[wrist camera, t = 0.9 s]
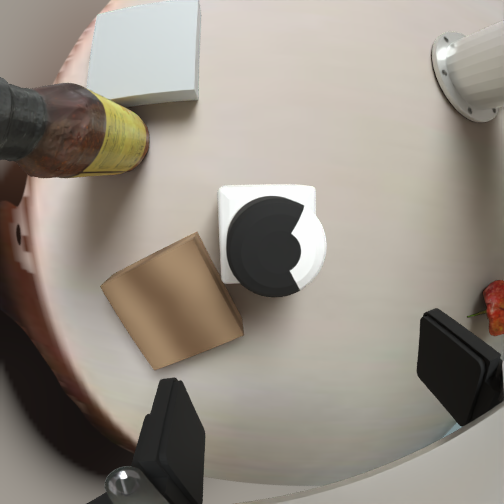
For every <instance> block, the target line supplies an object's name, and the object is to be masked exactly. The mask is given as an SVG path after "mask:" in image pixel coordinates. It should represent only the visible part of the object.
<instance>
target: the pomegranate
mask: <svg viewBox="0 0 504 504" xmlns="http://www.w3.org/2000/svg"><path fill="white" fill-rule="evenodd" d="M483 296H484V300H485V303H486V310H484V311H481V312H478V313H477V314H473V315H470V316H467V318H468V317H471V316H476V315H479V314H485V313H487V318H488V319H489V333H490V334H491V335H492V336H497V335H501V334H504V281H503V280H497V281H494V282H492V283H490V284H489V285H488V286H487V287H486V289H485V290H484V291H483Z"/></svg>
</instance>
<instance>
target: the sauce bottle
mask: <svg viewBox="0 0 504 504" xmlns="http://www.w3.org/2000/svg"><path fill="white" fill-rule="evenodd" d="M148 148H149V132H148V128H147V126H146V124H145V123H144V122H143V121H142V120H141V119H140V117H139V116H138V115H137V114H135V113H134V112H132V111H131V110H128V109H126V108H125V107H123V106H121V105H119V104H117V103H115V102H113V101H112V100H110V99H107V98H105V97H103V96H101V95H99V94H97V93H95V92H93V91H91V90H89V89H87V88H84V87H82V86H80V85H77V84H73V83H61V84H54V85H48V86H42V87H38V88H32V89H28V88H20V87H18V86H15V85H12V84H8V82H7V81H6V80H5V79H3V78H1V77H0V160H2V159H3V160H8V161H15V162H16V163H18V165H19V166H20V167H21V168H22V170H23V171H24V172H25V173H26V174H28V175H29V176H31V177H32V176H34V177H38V178H54V177H59V178H74V177H86V176H102V175H117V174H122V173H124V172H128V171H131V170H132V169H134V168H135V167H136V166H138V165H139V164H140V163H141V161H142V159H143V158H144V156H145V155H146V153H147V151H148Z"/></svg>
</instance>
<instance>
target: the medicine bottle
mask: <svg viewBox="0 0 504 504" xmlns="http://www.w3.org/2000/svg"><path fill="white" fill-rule="evenodd" d="M217 197H218V223H219V246H220V266H221V280H222V282H223V283H225V284H233V283H241V284H242V285H243V286H244V287H245V288H247V289H248V290H250V291H252V292H253V293H256V294H259V295H262V296H266V297H283V296H288V295H291V294H294V293H296V292H298V291H300V290H302V289H303V288H305V287H306V286H307V285H308V284H310V283H311V282H312V281H313V280H314V278H315V277H316V276H317V274H318V273H319V271H320V269H321V268H322V266H323V263H324V260H325V255H326V237H325V232H324V230H323V227H322V225H321V223H320V221H319V220H318V218H317V217H316V190H315V188H314V187H312V186H306V185H297V184H258V185H225V186H222V187H221V188H220V189H219V190H218V192H217Z"/></svg>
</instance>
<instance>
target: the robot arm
mask: <svg viewBox="0 0 504 504" xmlns="http://www.w3.org/2000/svg"><path fill="white" fill-rule="evenodd" d="M432 61H433V67H434V71H435V74H436V77H437V80H438V82H439V84H440V86H441V88H442V90H443V92H444V94H445V95H446V97H447V98H448V100H449V101H450V103H451V104H452V105H453V106H454V107H455V108H456V110H457V111H458V112H460V113H461V114H462V115H463V116H464V117H466V118H468V119H469V120H472V121H474V122H488V121H490V120H492V119H493V118H494V117H495V116H496V114H497V113H498V111H499V107H504V20H503V21H500V22H498V23H495V24H493V25H491V26H488V27H486V28H484V29H481V30H479V31H477V32H475V33H472V34H470V35H468V36H465V35H463V34H462V33H458V32H454V31H449V32H445V33H443V34H442V35H440V36H439V37H438V38H437V39H436V40H435V42H434V44H433V48H432ZM500 356H501V354H500V353H498V352H497V351H496V350H494V349H493V348H492V347H490V346H489V345H488V344H486V343H485V342H484V341H482V340H481V339H480V338H478V337H477V336H476V335H474V334H473V333H472V332H470V331H469V330H467V329H466V328H465V327H463V326H462V325H461V324H459V323H458V322H456V321H455V320H454V319H452V318H451V317H449V316H448V315H447V314H445V313H444V312H442V311H441V310H439V309H437V308H435V309H433V310H430V311H428V312H425V313H424V315H423V317H422V318H421V320H420V337H419V351H418V362H417V375H418V377H419V378H420V380H421V381H422V382H423V383H424V384H425V385H426V386H427V388H428V389H429V390H430V391H431V392H432V393H433V394H434V396H435V397H436V398H437V399H438V400H439V401H440V403H441V404H442V405H443V406H444V407H445V408H446V410H447V411H448V412H449V413H450V414H451V416H452V417H453V418H454V419H455V420H456V422H457V423H458V424H459V425H460V426H464V427H462V428H460V429H458V430H457V431H455V432H453V433H451V434H450V435H448V436H446V437H444V438H442V439H440V440H439V441H437V442H435V443H433V444H431V445H429V446H427V447H425V448H423V449H421V450H418V451H416V452H414V453H412V454H410V455H408V456H405V457H403V458H401V459H399V460H396V461H394V462H392V463H389V464H387V465H384V466H382V467H379V468H376V469H374V470H371V471H368V472H366V473H363V474H360V475H357V476H354V477H351V478H348V479H345V480H342V481H339V482H335V483H332V484H328V485H325V486H321V487H318V488H314V489H310V490H307V491H302V492H298V493H293V494H289V495H284V496H279V497H273V498H268V499H262V500H256V501H250V502H243V503H235V504H504V360H503V361H502V360H501V359H500ZM204 453H205V431H204V428H203V426H202V423H201V421H200V419H199V417H198V415H197V413H196V411H195V408H194V406H193V404H192V402H191V400H190V397H189V395H188V393H187V391H186V388H185V386H184V384H183V382H182V381H178V380H177V379H176V378H167V379H161V380H160V382H159V385H158V389H157V392H156V395H155V399H154V402H153V406H152V410H151V413H150V414H147V415H146V417H145V419H144V422H143V426H142V429H141V433H140V436H139V440H138V443H137V447H136V451H135V454H134V458H133V462H132V465H131V467H130V466H126V467H120V468H118V469H116V470H114V471H113V472H111V473H110V474H109V476H108V477H107V479H106V481H105V490H106V493H104V494H102V495H101V496H99V497H97V498H96V499H94V500H92V501H91V502H89V503H87V504H202V501H203V499H202V498H203V475H204Z"/></svg>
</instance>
